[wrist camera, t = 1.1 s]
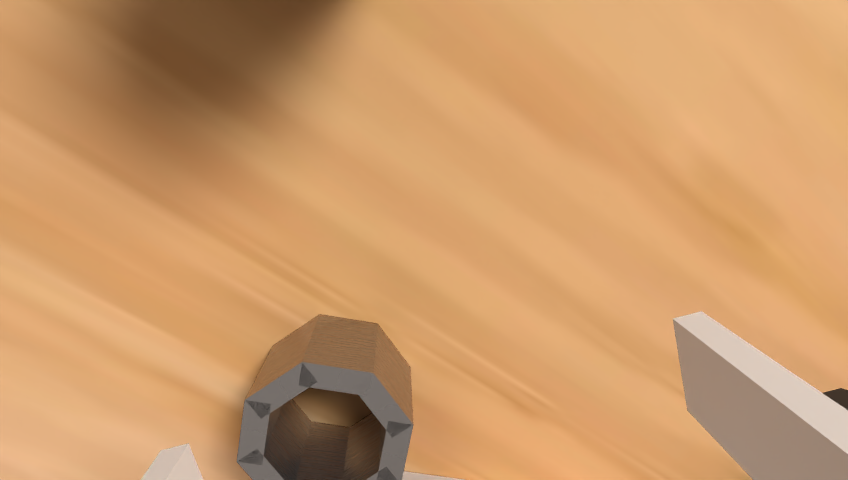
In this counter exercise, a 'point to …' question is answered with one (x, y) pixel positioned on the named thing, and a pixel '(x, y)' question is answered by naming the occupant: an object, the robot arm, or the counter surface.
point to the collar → (336, 371)
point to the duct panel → (424, 477)
